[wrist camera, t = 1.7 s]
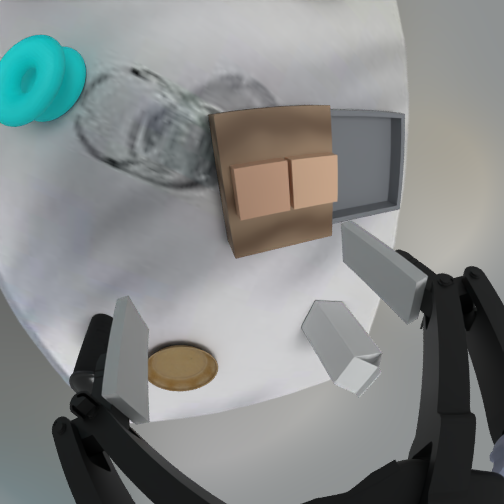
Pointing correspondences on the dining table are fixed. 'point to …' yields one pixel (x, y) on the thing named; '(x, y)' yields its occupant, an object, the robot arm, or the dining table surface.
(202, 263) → the dining table surface
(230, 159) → the brown wooden board
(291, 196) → the rear tile
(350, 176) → the tray
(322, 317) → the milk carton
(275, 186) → the front tile
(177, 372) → the plant saucer
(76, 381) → the drinking cup
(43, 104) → the donuts
